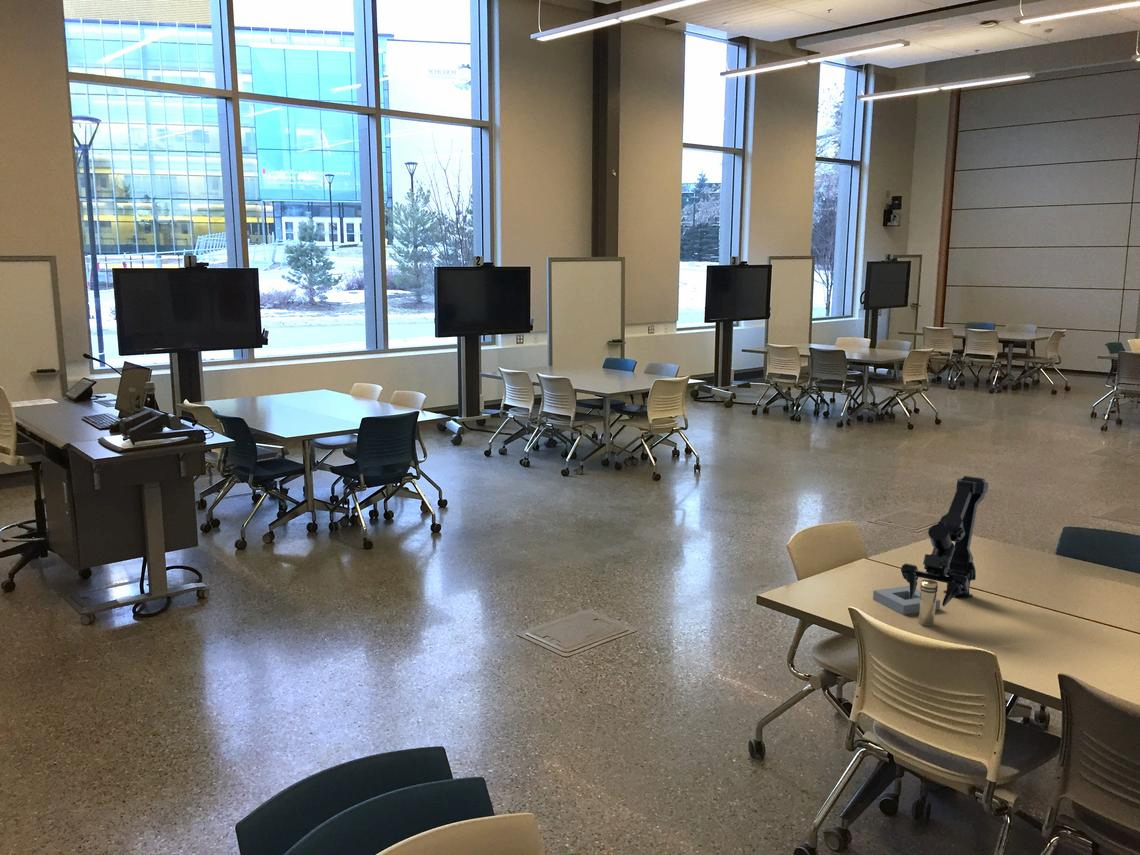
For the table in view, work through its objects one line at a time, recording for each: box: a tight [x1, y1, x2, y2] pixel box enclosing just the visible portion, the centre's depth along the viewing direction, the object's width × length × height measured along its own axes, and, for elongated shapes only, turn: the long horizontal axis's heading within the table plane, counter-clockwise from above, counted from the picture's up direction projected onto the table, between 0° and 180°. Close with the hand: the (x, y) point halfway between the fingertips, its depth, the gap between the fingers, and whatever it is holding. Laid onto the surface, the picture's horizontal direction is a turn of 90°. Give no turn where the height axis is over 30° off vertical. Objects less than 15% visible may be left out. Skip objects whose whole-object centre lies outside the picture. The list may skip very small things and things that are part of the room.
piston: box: [917, 579, 939, 628], centre depth 263 cm, size 5×5×13 cm
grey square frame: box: [872, 585, 941, 616], centre depth 279 cm, size 14×14×3 cm
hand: (926, 602), depth 262 cm, fingers open, 9 cm apart
